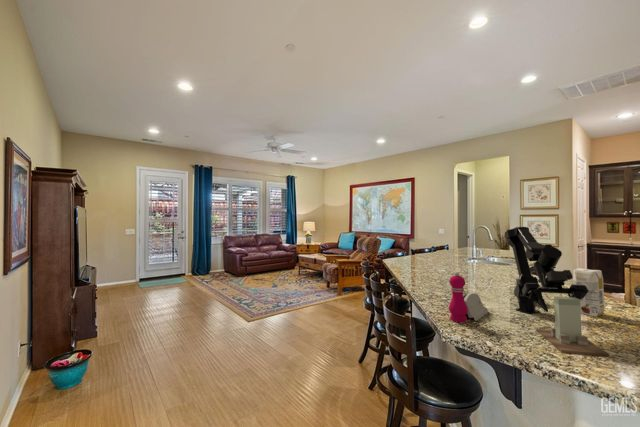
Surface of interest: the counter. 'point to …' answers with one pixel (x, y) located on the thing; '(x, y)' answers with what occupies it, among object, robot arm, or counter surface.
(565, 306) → the door
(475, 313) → the grey rounded slab
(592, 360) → the counter surface
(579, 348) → the plate
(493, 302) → the counter surface
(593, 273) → the juice carton
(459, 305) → the pepper mill
